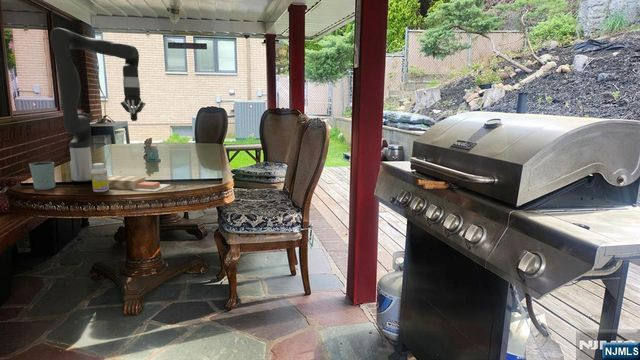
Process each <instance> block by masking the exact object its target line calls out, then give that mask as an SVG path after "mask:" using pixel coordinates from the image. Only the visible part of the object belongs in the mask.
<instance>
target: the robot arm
mask: <svg viewBox="0 0 640 360" xmlns="http://www.w3.org/2000/svg"><path fill="white" fill-rule="evenodd" d="M49 40H50V43H51V48H52V51H53V55H54V59H55V65H56V71H57V78H58V79H57V80H58V84H59V85H58V86H59V90H60V97H61V105H62V106H61V107H62V120H63V128H64V130H65V131H66V133H68V134H69V135H73V138H72V139H71V140H70V141H69V143H68V144H69V152H70V153H69V154H70V162H69V167H70V176H71V179H70V180H71V181H74V182H87V181H92V175H91V171H92V170H93V163H92V153H91V141H92V128H91V123H90V122H91V121H90V120H89V118H87V116H85V115H79V113H78V102H79V99H80V96H81V91H82V85H81V79H80V75H79V72H78V70H77V68H76V66H75V64H74V63H73V60H72V56H71V50H84V51H90V52H93V53H96V54H100V55H103V56H108V57H115V58H119V59H123V60H124V62H125V63H124V65H123V66H122V77H123V78H122V82H123V83H122V84H123V85H122V86H123V93H124V100H123V101H122V102H120V105H121V107H122V108H123V109H124V111H126V113H129V114H130V120H131V122H137V120H138V114H139V113H141V112H142V110H143V109H144V107H145V106H146V102H143V101H142V98H141V87H140V86H141V85H140V79H139V64H140V63H139V62H140V54H139V50H138V49H137V47H135V46H134V45H130V44H126V43H120V42H119V43H118V42H115V41H111V40H106V39H103V38H102V39H101V38H94V37H87V36H83V35H81V34H78V33H76V32H73V31H71V30H69V29H66V28H61V27H55V28H53V29H51V31H50V36H49Z"/></svg>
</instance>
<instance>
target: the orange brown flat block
mask: <svg viewBox="0 0 640 360" xmlns="http://www.w3.org/2000/svg"><path fill="white" fill-rule="evenodd" d="M160 184H161V183H160V182H159V181H145V182H144V181H143V182H140V183H137V184H136V188H144V189H155V188H157V187H159V186H160Z"/></svg>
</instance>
